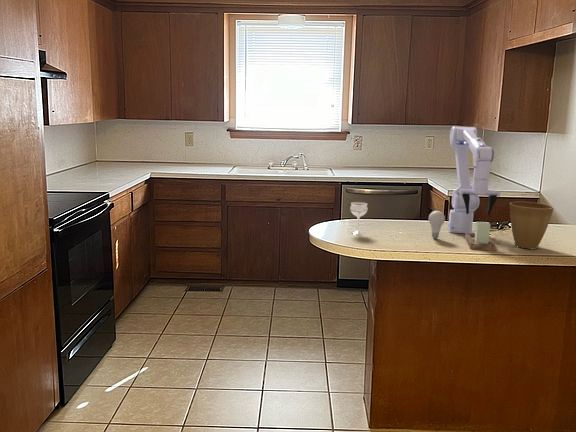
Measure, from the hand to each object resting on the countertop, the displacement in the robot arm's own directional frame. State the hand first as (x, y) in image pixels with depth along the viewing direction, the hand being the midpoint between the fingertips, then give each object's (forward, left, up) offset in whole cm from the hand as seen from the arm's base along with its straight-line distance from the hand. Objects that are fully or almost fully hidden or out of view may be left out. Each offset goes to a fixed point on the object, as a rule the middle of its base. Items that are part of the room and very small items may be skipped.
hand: (477, 214), depth 212 cm
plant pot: (+18, -4, -11) cm, 21 cm away
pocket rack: (+1, -5, -10) cm, 12 cm away
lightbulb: (-15, -2, -11) cm, 18 cm away
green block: (+1, -9, -10) cm, 14 cm away
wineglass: (-45, -2, -11) cm, 46 cm away
